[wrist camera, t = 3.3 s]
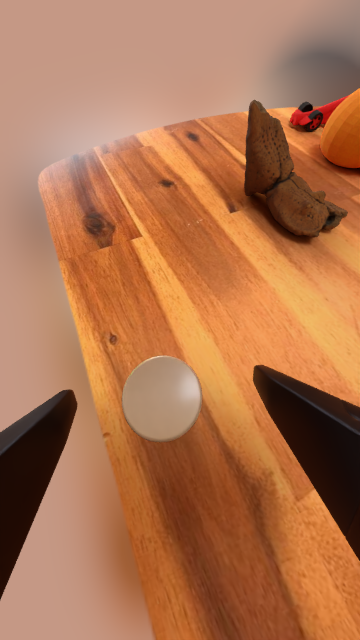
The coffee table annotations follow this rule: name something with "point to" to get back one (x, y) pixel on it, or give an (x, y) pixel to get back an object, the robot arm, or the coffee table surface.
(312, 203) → the sculpture
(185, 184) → the coffee table surface
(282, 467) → the coffee table surface
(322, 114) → the toy car
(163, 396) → the brush
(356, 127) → the fruit
